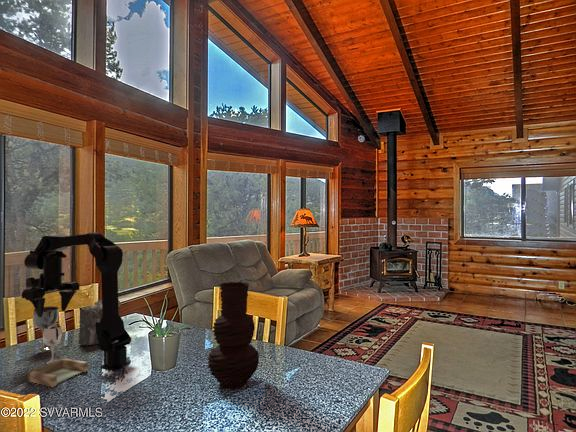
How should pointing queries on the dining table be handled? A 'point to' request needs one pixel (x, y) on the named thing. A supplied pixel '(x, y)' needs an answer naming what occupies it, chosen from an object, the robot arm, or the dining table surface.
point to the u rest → (57, 371)
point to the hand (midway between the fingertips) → (52, 314)
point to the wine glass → (46, 321)
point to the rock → (90, 323)
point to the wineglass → (52, 337)
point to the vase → (233, 339)
